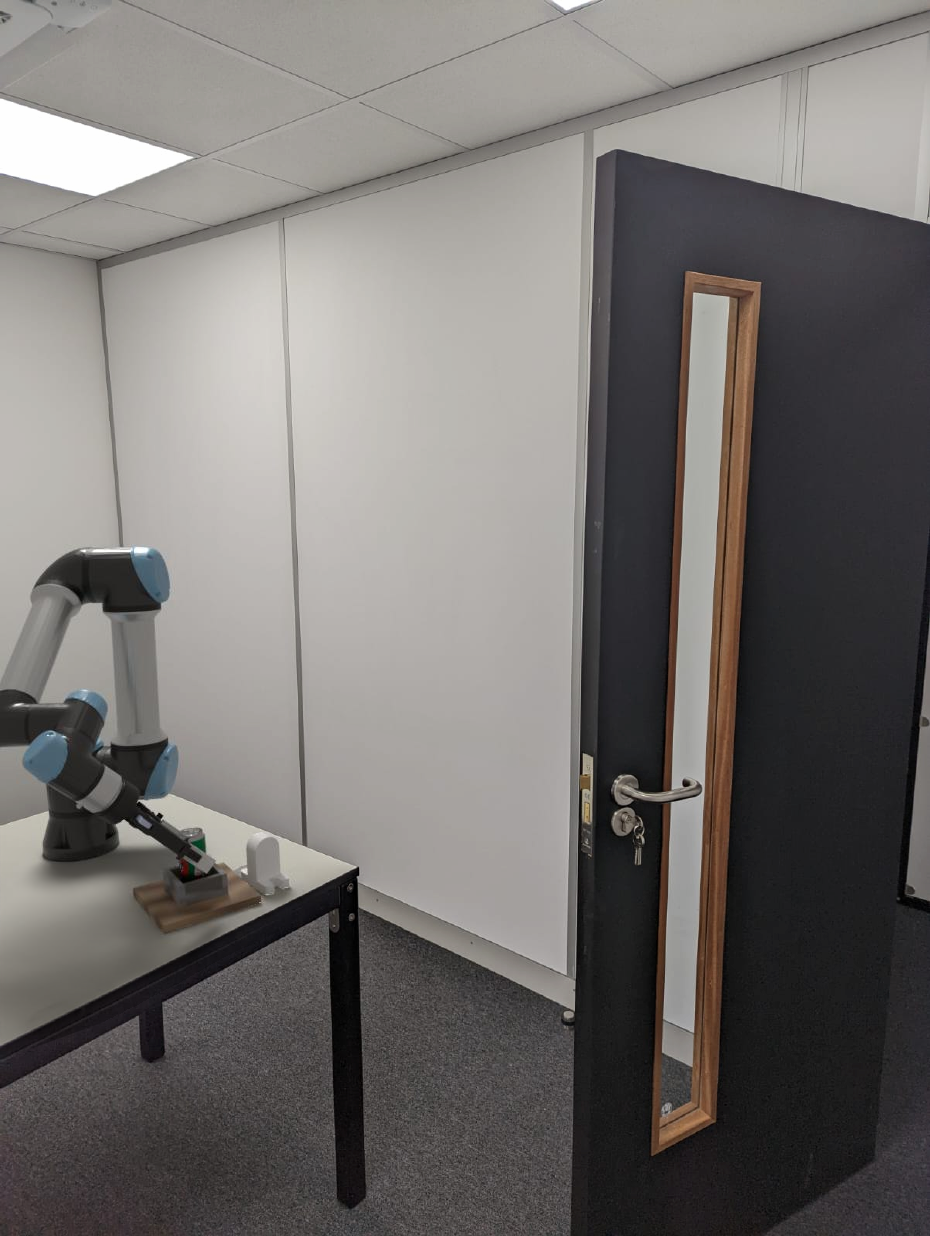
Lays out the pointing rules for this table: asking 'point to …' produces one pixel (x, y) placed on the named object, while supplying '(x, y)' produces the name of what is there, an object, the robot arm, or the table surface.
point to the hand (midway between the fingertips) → (197, 854)
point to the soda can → (185, 868)
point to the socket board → (194, 897)
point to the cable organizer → (263, 864)
